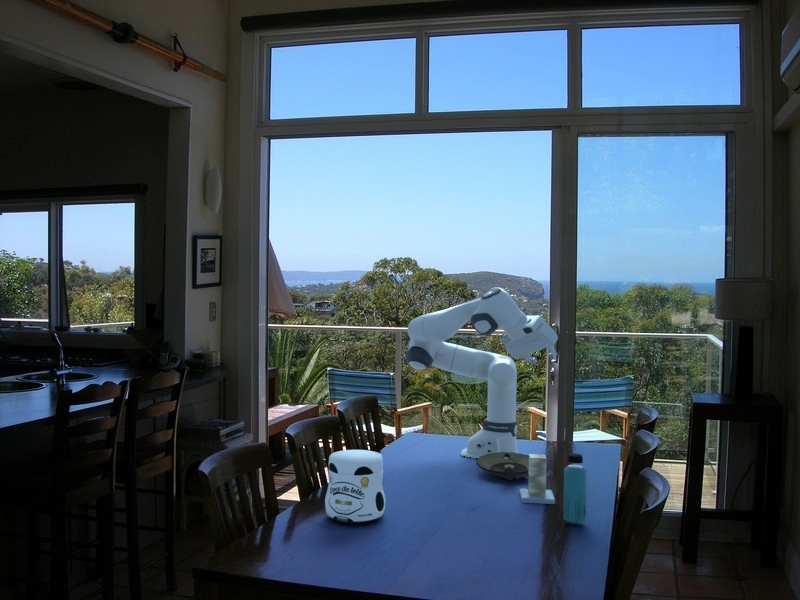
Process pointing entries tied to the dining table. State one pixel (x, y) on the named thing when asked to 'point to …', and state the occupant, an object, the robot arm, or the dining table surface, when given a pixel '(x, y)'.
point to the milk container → (355, 486)
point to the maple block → (537, 475)
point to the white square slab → (537, 497)
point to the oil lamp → (505, 464)
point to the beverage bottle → (575, 490)
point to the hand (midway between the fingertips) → (544, 359)
